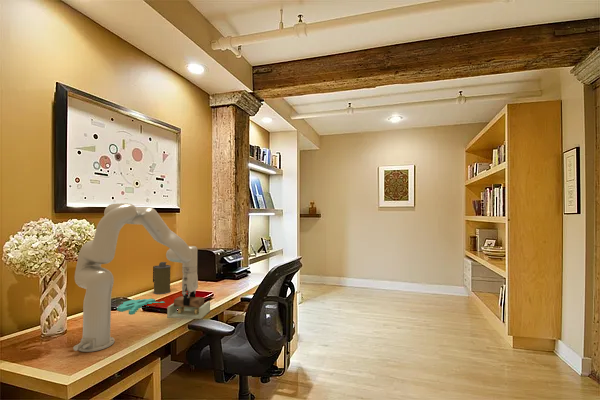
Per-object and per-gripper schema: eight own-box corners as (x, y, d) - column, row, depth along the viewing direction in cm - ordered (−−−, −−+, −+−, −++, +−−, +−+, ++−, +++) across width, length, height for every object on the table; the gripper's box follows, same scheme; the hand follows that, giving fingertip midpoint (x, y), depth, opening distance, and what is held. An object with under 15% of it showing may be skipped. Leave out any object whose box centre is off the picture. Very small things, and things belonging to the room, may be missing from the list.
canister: (172, 289, 215) (172, 260, 216) (167, 294, 205) (168, 263, 205) (155, 290, 214) (156, 261, 214) (150, 294, 203) (151, 263, 204)
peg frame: (201, 318, 158) (201, 308, 158) (167, 317, 160) (167, 306, 160) (209, 311, 170) (210, 301, 170) (178, 310, 172) (178, 300, 172)
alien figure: (164, 305, 181) (144, 300, 192) (164, 301, 181) (144, 296, 192) (131, 315, 164) (110, 309, 175) (131, 311, 164) (110, 305, 175)
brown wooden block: (204, 303, 167) (204, 297, 168) (199, 307, 161) (199, 300, 162) (179, 302, 169) (179, 296, 169) (173, 306, 163) (173, 299, 163)
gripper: (189, 273, 157) (189, 308, 156) (203, 266, 174) (202, 299, 174) (175, 272, 158) (174, 308, 157) (190, 266, 175) (189, 298, 174)
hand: (189, 303), depth 165 cm, fingers closed on brown wooden block, 6 cm apart
